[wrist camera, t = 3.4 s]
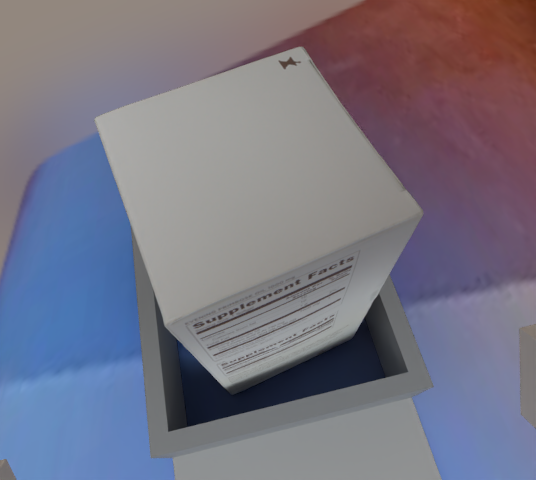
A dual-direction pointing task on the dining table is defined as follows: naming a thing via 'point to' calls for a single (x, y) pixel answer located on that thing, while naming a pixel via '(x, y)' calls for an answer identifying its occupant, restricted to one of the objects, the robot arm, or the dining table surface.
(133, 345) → the dining table surface
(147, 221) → the supplement box
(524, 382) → the robot arm
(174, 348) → the grey open box
